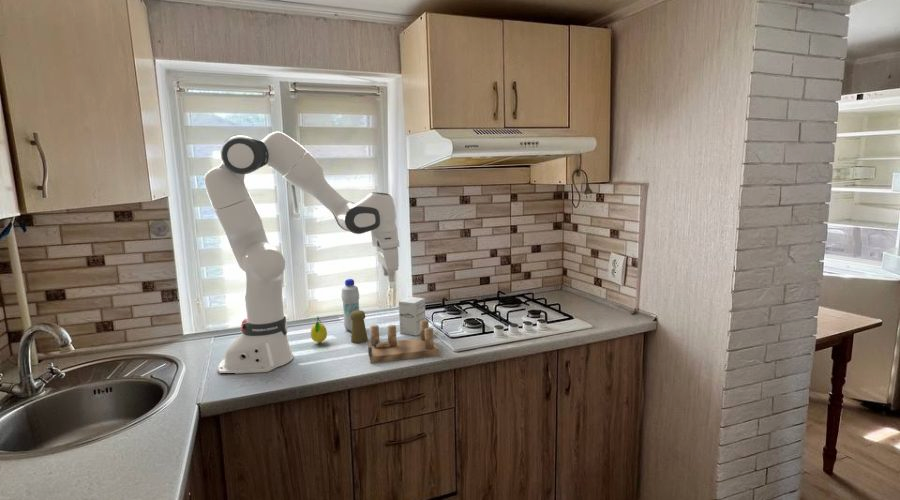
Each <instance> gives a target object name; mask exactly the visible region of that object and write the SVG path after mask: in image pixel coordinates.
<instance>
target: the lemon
mask: <svg viewBox="0 0 900 500" xmlns="http://www.w3.org/2000/svg"><path fill="white" fill-rule="evenodd" d="M316 319H317V321H316V323H314V324H313V326H312V327H311V329H310V337H311V339H312V341H314V342H316V343H317V344H321V343H322V342H324V341H325V340H326V339H327V336H328V331H327V328H326V326H325V325H324V324H323V323H321V322H322V321H321V320H320V316H318V315H317V317H316Z"/></svg>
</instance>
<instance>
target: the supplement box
mask: <svg viewBox="0 0 900 500" xmlns="http://www.w3.org/2000/svg"><path fill="white" fill-rule="evenodd" d="M398 313H399V315H398V316H399V333H400V334H404V335H409V336H415V337H417V336H418V335H421V326H420V321H421V320H427V319H426V298H424V297H415V296H406V297H405V298H402V299H401V300H399V301H398Z"/></svg>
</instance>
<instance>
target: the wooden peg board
mask: <svg viewBox="0 0 900 500" xmlns="http://www.w3.org/2000/svg"><path fill="white" fill-rule="evenodd" d="M429 325H430V324H429V320H428V319H426V320H421V321H420V326H421V333H420V338H409V339H401V340H397V345H396V346H394V347H390V346H389V347H380V348H375V347H374V340H376V339H377V340H378V343H382V342H383V341H382V342H381V341H380V327H379V325H378V324H377V325H376V324H374V325H370V327H369V331H370V343H367V353H368V357H369V363H370V364H374V363H382V362H391V361H398V360H399V361H401V360H406V359H414V358H415V359H416V358H423V357H430V356H431V357H432V356H433V357H434V356H438V355H439V347H438V346H437V344H436V342H435V339H434V328H433V327H430V326H429Z"/></svg>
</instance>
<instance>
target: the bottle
mask: <svg viewBox="0 0 900 500" xmlns="http://www.w3.org/2000/svg"><path fill="white" fill-rule="evenodd" d="M344 285H345V286H343V287H341V301H342V307H343V309H342V310H343V327H344V329H345V331H346V332H351V333H352V320H351V317H350V315H351V313H352V312H353V311H356V310H360V292H359V288H358V286H357V285H355V280H354V279H353V278H348V279H345V281H344Z"/></svg>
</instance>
